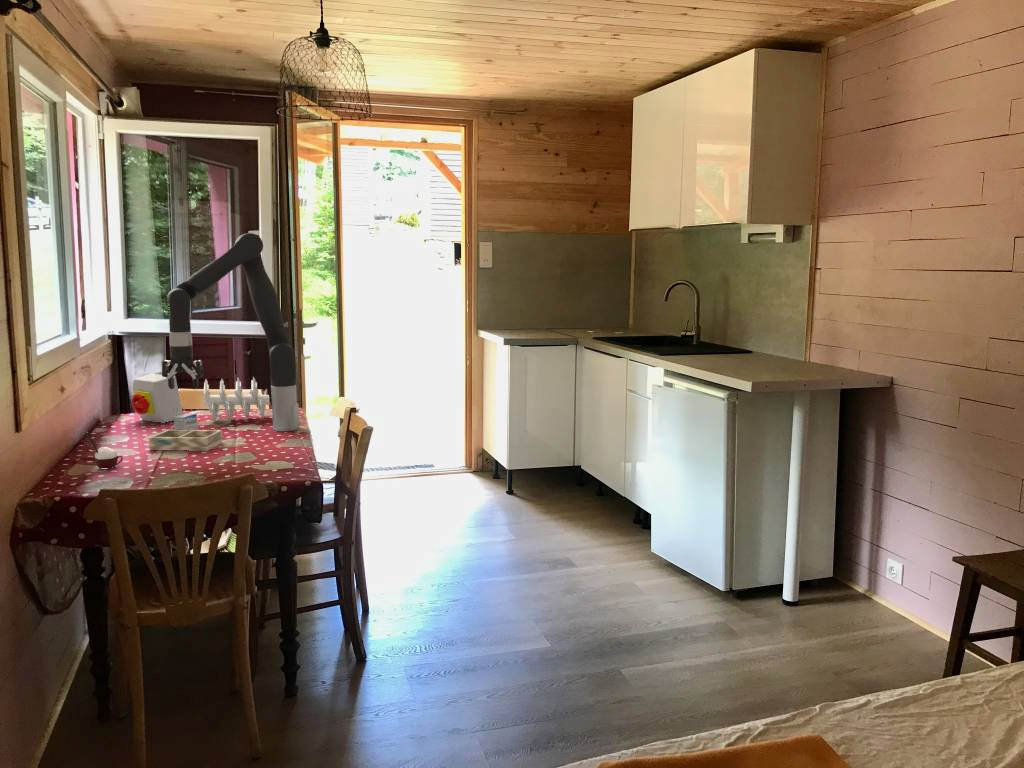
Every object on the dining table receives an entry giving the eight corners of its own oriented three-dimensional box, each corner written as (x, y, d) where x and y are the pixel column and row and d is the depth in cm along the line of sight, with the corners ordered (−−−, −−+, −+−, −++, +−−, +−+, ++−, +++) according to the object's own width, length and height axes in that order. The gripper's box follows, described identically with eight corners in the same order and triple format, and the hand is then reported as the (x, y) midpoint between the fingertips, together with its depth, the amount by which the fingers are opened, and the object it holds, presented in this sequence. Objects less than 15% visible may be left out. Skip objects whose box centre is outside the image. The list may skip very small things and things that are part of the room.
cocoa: (123, 466, 255) (123, 428, 254) (119, 470, 249) (118, 432, 248) (91, 466, 253) (90, 429, 252) (85, 471, 247) (84, 432, 246)
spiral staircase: (269, 430, 326) (203, 431, 318) (268, 405, 340) (205, 405, 332) (270, 393, 316) (202, 393, 308) (269, 369, 330) (204, 368, 322)
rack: (222, 442, 286) (221, 430, 286) (206, 451, 273) (205, 438, 272) (167, 442, 287) (167, 429, 287) (149, 450, 274) (148, 437, 273)
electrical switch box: (129, 427, 323) (119, 379, 318) (161, 416, 335) (152, 370, 330) (152, 431, 315) (141, 382, 310) (184, 419, 328) (174, 372, 322)
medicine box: (186, 441, 289) (184, 417, 288) (174, 440, 290) (173, 416, 289) (198, 436, 297) (197, 413, 296) (187, 435, 298) (186, 412, 296)
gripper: (205, 343, 292) (207, 387, 294) (166, 343, 292) (169, 387, 295) (195, 345, 284) (198, 390, 287) (156, 345, 285) (159, 390, 287)
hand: (183, 388), depth 291 cm, fingers open, 8 cm apart
